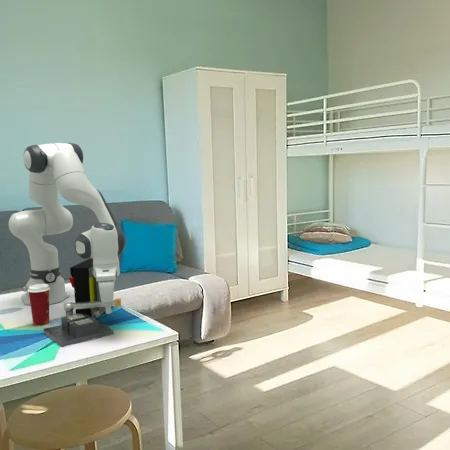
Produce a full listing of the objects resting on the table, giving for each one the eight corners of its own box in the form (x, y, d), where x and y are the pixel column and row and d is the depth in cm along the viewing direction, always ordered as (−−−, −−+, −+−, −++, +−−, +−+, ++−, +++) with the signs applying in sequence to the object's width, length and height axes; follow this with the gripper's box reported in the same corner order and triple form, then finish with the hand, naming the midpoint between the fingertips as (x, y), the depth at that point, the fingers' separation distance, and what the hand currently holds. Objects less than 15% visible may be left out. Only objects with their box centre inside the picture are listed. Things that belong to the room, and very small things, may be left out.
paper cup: (56, 322, 187) (53, 285, 185) (36, 328, 181) (33, 290, 179) (45, 318, 192) (43, 282, 190) (26, 323, 187) (23, 286, 185)
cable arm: (64, 311, 177) (63, 305, 177) (64, 308, 180) (64, 302, 180) (121, 306, 181) (120, 300, 181) (121, 304, 184) (120, 298, 184)
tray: (43, 333, 176) (42, 315, 175) (92, 321, 187) (91, 304, 186) (61, 346, 163) (60, 327, 162) (113, 333, 174) (112, 315, 173)
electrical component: (96, 320, 188) (93, 268, 185) (71, 319, 190) (68, 267, 187) (116, 306, 205) (113, 258, 202) (92, 305, 207) (89, 257, 204)
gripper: (98, 265, 184) (100, 302, 186) (95, 277, 164) (98, 319, 166) (116, 263, 185) (118, 300, 187) (115, 276, 165) (118, 317, 167)
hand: (108, 309), depth 176 cm, fingers open, 7 cm apart
